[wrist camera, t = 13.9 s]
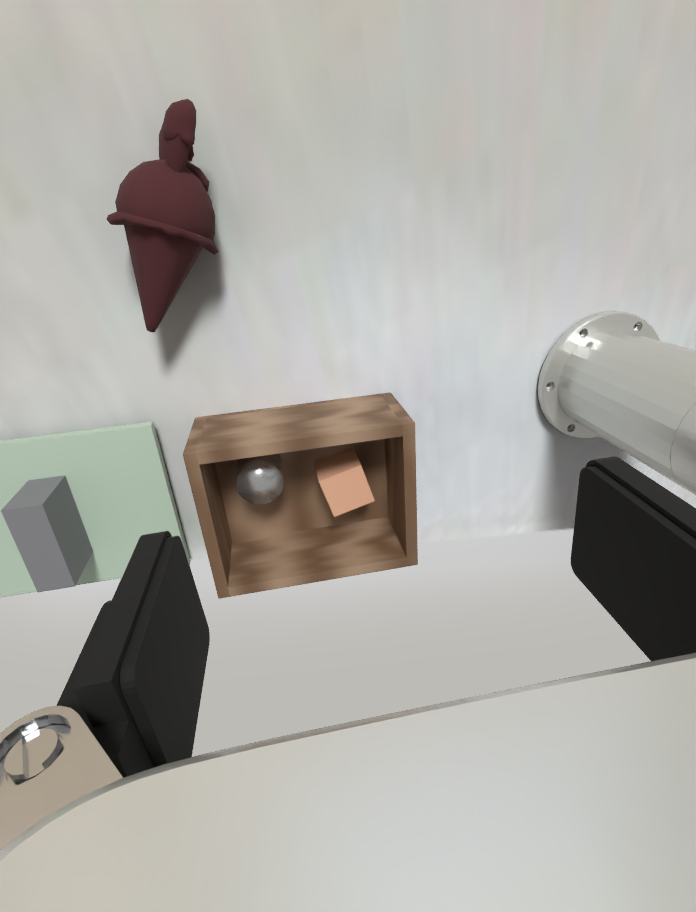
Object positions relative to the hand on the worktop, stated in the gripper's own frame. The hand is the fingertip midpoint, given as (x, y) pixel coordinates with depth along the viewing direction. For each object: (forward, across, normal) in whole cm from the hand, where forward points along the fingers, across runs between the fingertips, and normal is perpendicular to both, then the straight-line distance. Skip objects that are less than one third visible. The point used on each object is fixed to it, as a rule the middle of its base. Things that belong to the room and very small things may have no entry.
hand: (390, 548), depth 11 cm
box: (+34, +2, +15) cm, 37 cm away
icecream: (+34, +9, -8) cm, 36 cm away
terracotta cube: (+33, -1, +15) cm, 36 cm away
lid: (+33, +24, +14) cm, 43 cm away
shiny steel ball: (+33, +6, +12) cm, 36 cm away
